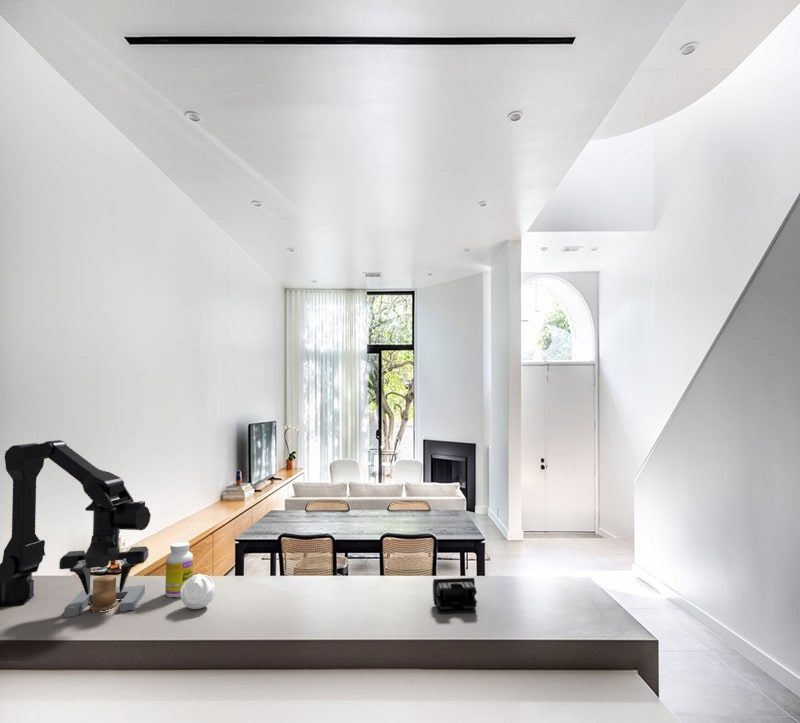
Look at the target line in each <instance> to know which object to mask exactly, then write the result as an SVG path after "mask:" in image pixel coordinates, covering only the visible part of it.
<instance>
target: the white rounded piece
mask: <svg viewBox="0 0 800 723" xmlns="http://www.w3.org/2000/svg"><path fill="white" fill-rule="evenodd" d="M214 595H215V582H214V581H213V579H212V578H211V577H210V576H209V575H207V574H202V573H197V574H193V576H192V577H190V578H189V579H187V580H186V581H185V583H184V584H183V585H182V587H181V591H180V597H179V598H180V600H181V602H182V603H183V605H184V606H185V607H187V608H188V609H192V610H200V609H202V608H205V607H206V606H207V605H208V604H210V603H211V602H212V601H213V598H214Z"/></svg>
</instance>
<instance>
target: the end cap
mask: <svg viewBox="0 0 800 723" xmlns="http://www.w3.org/2000/svg"><path fill="white" fill-rule="evenodd" d="M475 584H476V581H475V578H474V577H460V578H459V577H457V578H456V577H453V578H451V577H450V578H434V579H433V580H432V597H433V598H432V599H433V605H434V606H435V608H436V610H437V613H438V615H456V614H458V615H460V614H464V615H465V614H475V613H477V609H476V607H477V603H478V600H477V599H476V595H477V593H478V591H477V588H476V586H475Z"/></svg>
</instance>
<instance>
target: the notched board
mask: <svg viewBox="0 0 800 723" xmlns="http://www.w3.org/2000/svg"><path fill="white" fill-rule="evenodd" d="M145 589H146V585H145V584H144V585H143V584H142V585H132V586H131V585H129V586H124V588H123V590H122V592H120V586H118V587H117V586H116V599H123V600H120V603H119V612H120V611H123V612H127V611H126V610H133V611H134V610H135V609H136V607H137V606H138V604H139V603H138V602H140V601H141V600H142V598H143V597H144V595H145V593H146V592H145V591H146V590H145ZM143 594H144V595H143ZM141 597H142V598H141ZM139 600H140V601H139ZM89 602H93V589H90V593H89V594H88V595H86V593H85V590H83V589H82V590H81V591H80V592H79V593H78V594H76V596H75V597H74V598H73V599H72V600H71V601H70V602H69V603H68V604H67V605H66V606H65V607H64V610H63V611H64V613H63V614H64V618H68V617H67V616H70V617H78V616H77V615H79V616H80V614H82V612H83V611H84V610H85V609H86V608H85V607H86V606H87V607H88V606H89V604H90V603H89ZM88 603H89V604H88ZM137 603H138V604H137ZM136 605H137V606H136ZM135 606H136V607H135ZM84 608H85V609H84ZM134 608H135V609H134ZM83 609H84V610H83Z"/></svg>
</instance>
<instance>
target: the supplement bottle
mask: <svg viewBox="0 0 800 723" xmlns="http://www.w3.org/2000/svg"><path fill="white" fill-rule="evenodd" d="M190 545H191V544H190V542H188V541H177V542H173V543H171V544H170V553H169V554H168V555H167V556H166V560H165V589H164V590H165V592H164V593H165V595H166V597H167V598H172V597H178V598H181V597H180V591H181V587H182V585H183V584H184V583H185V581H186V580H187V579H189V578H190V577H192V576H194V555H193V553H192V552H191V551H189V550H190Z"/></svg>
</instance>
